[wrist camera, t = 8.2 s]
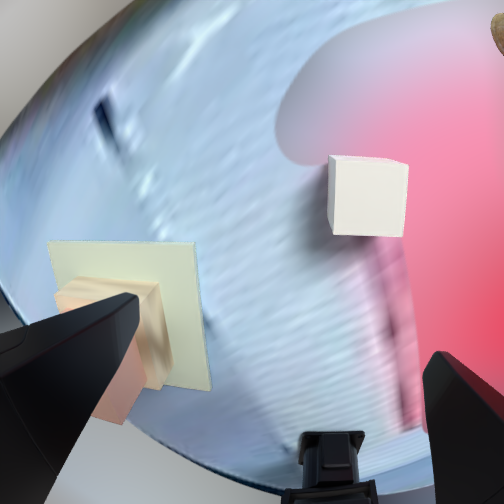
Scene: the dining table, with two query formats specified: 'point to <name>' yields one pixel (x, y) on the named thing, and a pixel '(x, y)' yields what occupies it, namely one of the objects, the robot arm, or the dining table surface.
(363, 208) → the cap block
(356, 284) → the dining table surface
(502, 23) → the sprinkles bottle
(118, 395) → the coral block
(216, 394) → the dining table surface
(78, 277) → the block
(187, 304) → the baseplate
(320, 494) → the robot arm
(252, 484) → the dining table surface
